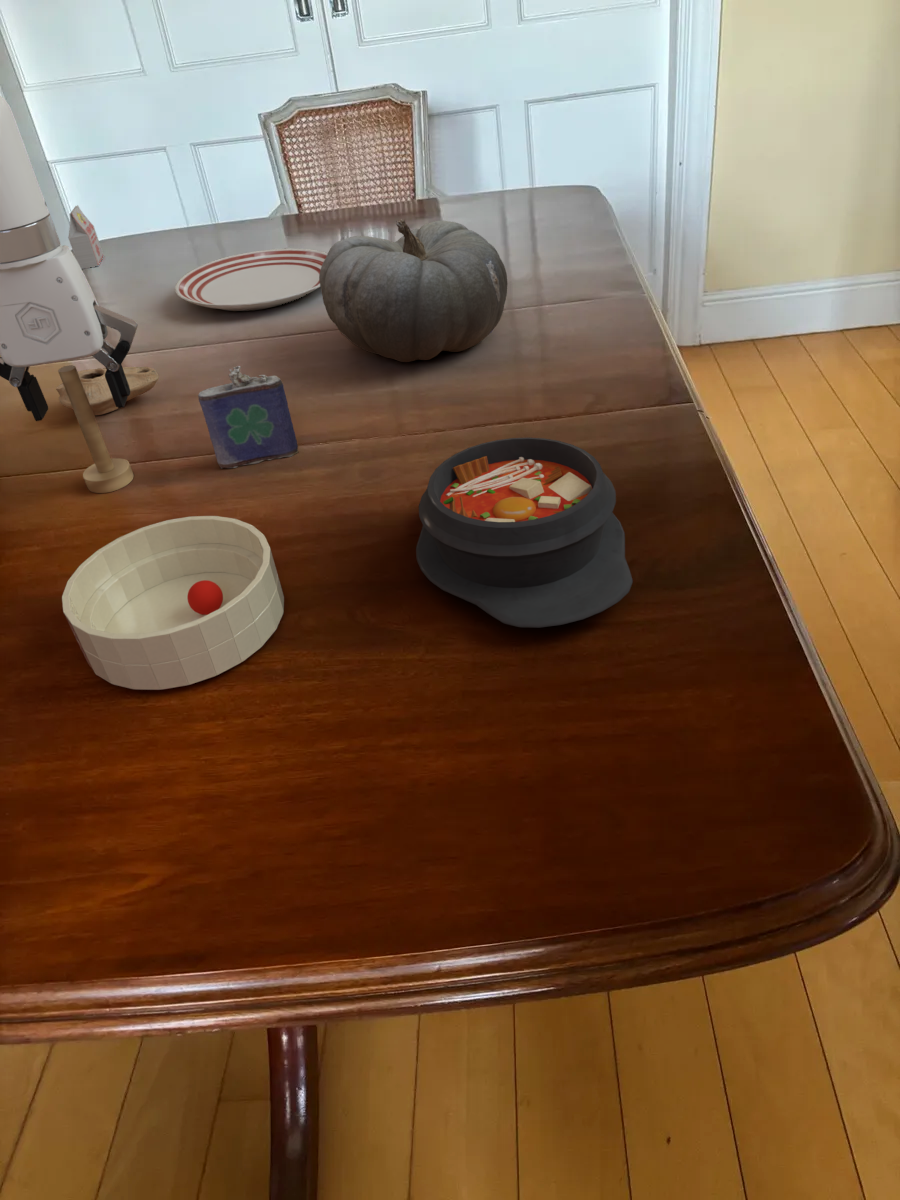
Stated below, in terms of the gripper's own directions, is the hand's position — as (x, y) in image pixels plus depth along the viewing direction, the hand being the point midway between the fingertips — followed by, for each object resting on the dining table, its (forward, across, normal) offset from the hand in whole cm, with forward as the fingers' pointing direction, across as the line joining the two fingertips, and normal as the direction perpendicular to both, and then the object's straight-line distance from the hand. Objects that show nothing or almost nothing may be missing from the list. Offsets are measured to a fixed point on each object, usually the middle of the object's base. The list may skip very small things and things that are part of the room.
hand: (82, 408), depth 96 cm
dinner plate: (+9, +15, +60) cm, 63 cm away
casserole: (+9, +42, -28) cm, 51 cm away
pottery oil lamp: (+9, -3, +21) cm, 23 cm away
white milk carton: (+9, -20, +95) cm, 97 cm away
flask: (+9, +17, 0) cm, 19 cm away
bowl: (+9, +12, -30) cm, 34 cm away
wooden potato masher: (+9, 0, 0) cm, 9 cm away
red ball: (+7, +14, -29) cm, 33 cm away
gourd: (+9, +39, +27) cm, 48 cm away
